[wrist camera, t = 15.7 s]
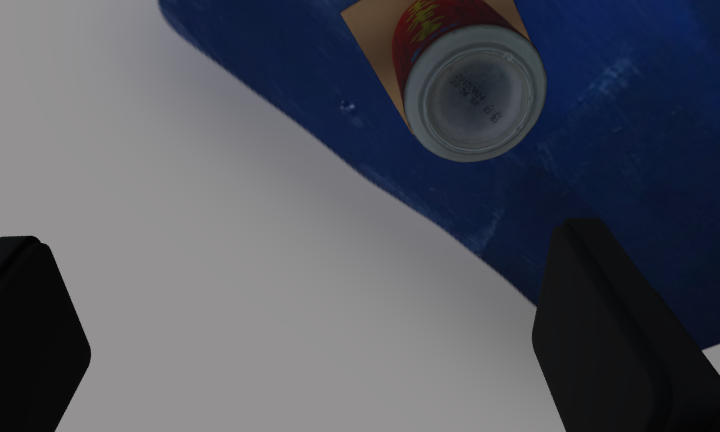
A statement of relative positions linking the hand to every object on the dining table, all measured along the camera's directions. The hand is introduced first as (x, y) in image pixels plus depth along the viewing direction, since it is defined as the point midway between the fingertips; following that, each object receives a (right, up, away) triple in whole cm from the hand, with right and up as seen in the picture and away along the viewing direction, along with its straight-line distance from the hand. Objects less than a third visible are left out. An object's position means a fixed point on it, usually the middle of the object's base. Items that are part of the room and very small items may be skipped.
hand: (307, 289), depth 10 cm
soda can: (+7, +13, +26) cm, 30 cm away
